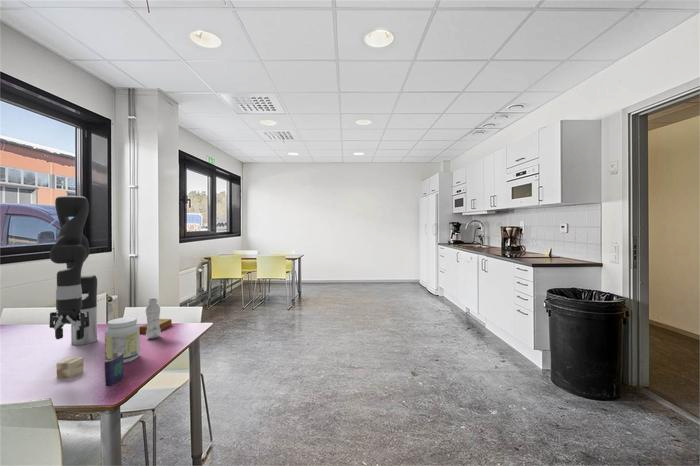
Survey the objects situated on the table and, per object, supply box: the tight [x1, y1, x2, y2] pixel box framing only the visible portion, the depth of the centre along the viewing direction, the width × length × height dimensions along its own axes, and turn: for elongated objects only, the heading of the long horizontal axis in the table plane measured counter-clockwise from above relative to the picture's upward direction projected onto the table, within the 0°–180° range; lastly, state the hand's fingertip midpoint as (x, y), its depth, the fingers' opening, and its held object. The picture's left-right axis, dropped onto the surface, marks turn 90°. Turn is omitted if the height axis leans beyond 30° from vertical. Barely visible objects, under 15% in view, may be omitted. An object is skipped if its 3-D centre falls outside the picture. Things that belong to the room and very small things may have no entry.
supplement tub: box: [104, 316, 141, 364], centre depth 138 cm, size 12×12×17 cm
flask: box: [104, 352, 125, 387], centre depth 118 cm, size 9×3×11 cm, turn 8°
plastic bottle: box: [145, 298, 162, 340], centre depth 165 cm, size 6×7×20 cm
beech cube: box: [55, 356, 84, 379], centre depth 123 cm, size 6×6×6 cm
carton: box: [139, 318, 173, 335], centre depth 180 cm, size 8×16×4 cm, turn 176°
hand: (69, 338), depth 123 cm, fingers open, 8 cm apart
